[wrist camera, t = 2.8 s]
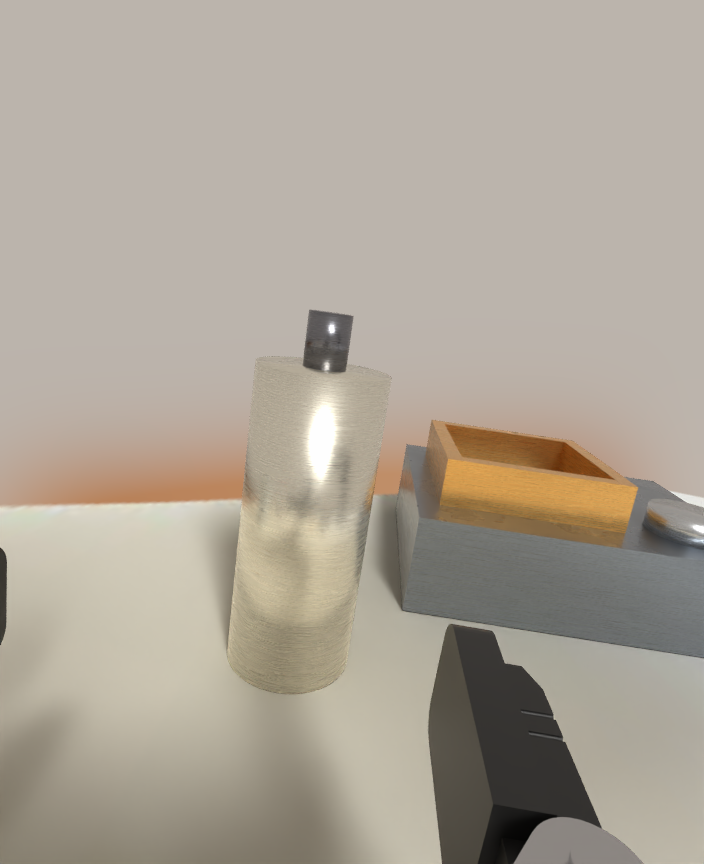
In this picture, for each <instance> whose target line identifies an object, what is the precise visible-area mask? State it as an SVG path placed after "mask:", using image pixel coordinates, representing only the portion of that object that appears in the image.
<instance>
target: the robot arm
mask: <svg viewBox="0 0 704 864" xmlns="http://www.w3.org/2000/svg"><path fill="white" fill-rule="evenodd" d="M6 589H7V560H6V555H5V552H4V551H3V550H2V549H1V548H0V645H1V642H2V640H3V637H4V634H5V629H6ZM428 734H429V747H430V756H431V765H432V774H433V783H434V792H435V801H436V811H437V820H438V829H439V838H440V847H441V856H442V864H643V862H642V861H641V860H640V859H639V858H638V857H637V856H636V855H635V854H634V853H633V852H632V851H631V850H630V849H629V848H628V847H627V846H626V845H625V844H623V843H622V842H621V841H620V840H618V839H617V838H616V837H614V836H613V835H611V834H610V833H608V832H606V831H605V830H603V829H602V827H601V825H600V823H599V820H598V818H597V816H596V813H595V811H594V809H593V806H592V804H591V802H590V799H589V797H588V795H587V792H586V790H585V787H584V785H583V783H582V780H581V778H580V776H579V773H578V771H577V769H576V766H575V764H574V762H573V759H572V757H571V755H570V752H569V750H568V748H567V745H566V743H565V742H563V736H562V733H561V731H560V729H559V726H558V724H557V722H556V720H554V719H553V712H552V710H551V708H550V705H549V703H548V701H547V698H546V696H545V693H544V691H543V689H542V688H541V687H540V686H539V685H538V684H537V683H536V682H535V680H534V679H533V678H532V677H531V676H530V675H529V674H528V673H527V672H526V671H525V670H524V668H523V667H522V666H517V665H511V664H505V663H504V660H503V658H502V655H501V652H500V649H499V646H498V643H497V640H496V637H495V635H494V633H493V632H492V631H490V630H484V629H478V628H472V627H466V626H460V625H454V624H450V625H449V626H448V628H447V630H446V633H445V637H444V642H443V646H442V651H441V656H440V660H439V665H438V670H437V674H436V679H435V684H434V688H433V693H432V698H431V703H430V711H429V726H428Z"/></svg>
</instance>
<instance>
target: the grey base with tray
mask: <svg viewBox="0 0 704 864" xmlns="http://www.w3.org/2000/svg"><path fill="white" fill-rule="evenodd" d="M396 517H397V533H398V549H399V564H400V580H401V596H402V610H403V611H410V612H416V613H422V614H429V615H435V616H441V617H448V618H454V619H460V620H467V621H473V622H480V623H486V624H492V625H499V626H505V627H511V628H518V629H524V630H531V631H537V632H543V633H550V634H556V635H562V636H569V637H575V638H581V639H588V640H594V641H601V642H607V643H613V644H620V645H626V646H632V647H639V648H645V649H651V650H658V651H664V652H671V653H677V654H683V655H690V656H696V657H702V658H704V508H703V507H699V506H696V505H693V504H689V503H686V502H685V501H683V500H682V499H680V498H678V497H677V496H675V495H674V494H672V493H671V492H669V491H668V490H666V489H665V488H663V487H661V486H660V485H658V484H657V483H655V482H654V481H648V480H641V479H634V478H628V477H623V476H622V475H620V474H618V473H617V472H616V471H615V470H613V469H612V468H610V467H609V466H607V465H606V464H605V463H603V462H602V461H600V460H599V459H598V458H596V457H595V456H593V455H592V454H591V453H589V452H587V451H586V450H585V449H583V448H582V447H581V446H579V445H578V444H576V443H575V442H574V441H570V440H563V439H557V438H550V437H544V436H536V435H530V434H523V433H517V432H510V431H503V430H496V429H489V428H483V427H476V426H469V425H462V424H456V423H449V422H443V421H436V420H432V421H431V426H430V432H429V437H428V443H427V447H421V446H414V445H408V444H407V446H406V452H405V458H404V464H403V470H402V476H401V481H400V487H399V493H398V499H397V505H396Z"/></svg>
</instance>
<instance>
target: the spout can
mask: <svg viewBox="0 0 704 864" xmlns="http://www.w3.org/2000/svg"><path fill="white" fill-rule="evenodd" d="M352 323H353V316H351V315H345V314H339V313H332V312H324V311H317V310H309V316H308V325H307V333H306V342H305V350H304V358H297V357H279V356H278V357H275V356H274V357H273V356H272V357H260V358H257V359H256V362H255V372H254V382H253V393H252V403H251V413H250V423H249V433H248V445H247V454H246V464H245V474H244V485H243V495H242V505H241V515H240V525H239V535H238V546H237V556H236V566H235V576H234V586H233V597H232V607H231V617H230V627H229V637H228V648H227V657H228V661H229V663H230V665H231V667H232V669H233V670H234V671H235V673H236V674H237V675H238V676H239V677H241V678H242V679H243V680H245V681H246V682H248V683H250V684H251V685H253V686H255V687H258V688H260V689H263V690H266V691H270V692H275V693H283V694H300V693H307V692H312V691H316V690H319V689H321V688H324V687H326V686H328V685H329V684H331V683H333V682H334V681H335V680H336V679H337V678H338V677H339V676H340V675H341V674H342V672H343V671H344V669H345V666H346V663H347V657H348V651H349V644H350V638H351V632H352V625H353V619H354V613H355V606H356V600H357V594H358V587H359V581H360V575H361V569H362V562H363V556H364V550H365V543H366V537H367V531H368V524H369V518H370V512H371V505H372V499H373V493H374V486H375V480H376V473H377V466H378V461H379V455H380V449H381V442H382V436H383V430H384V423H385V417H386V410H387V404H388V398H389V392H390V385H391V379H392V378H391V376H389V375H387V374H385V373H382V372H379V371H376V370H372V369H368V368H364V367H360V366H355V365H350V364H347V358H348V352H349V345H350V338H351V330H352Z"/></svg>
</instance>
